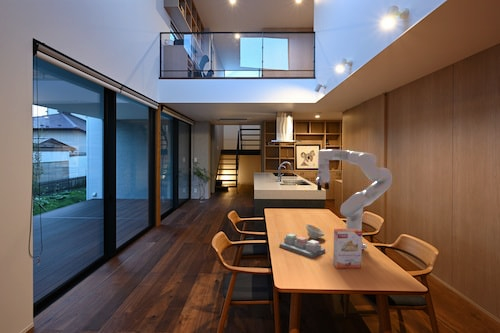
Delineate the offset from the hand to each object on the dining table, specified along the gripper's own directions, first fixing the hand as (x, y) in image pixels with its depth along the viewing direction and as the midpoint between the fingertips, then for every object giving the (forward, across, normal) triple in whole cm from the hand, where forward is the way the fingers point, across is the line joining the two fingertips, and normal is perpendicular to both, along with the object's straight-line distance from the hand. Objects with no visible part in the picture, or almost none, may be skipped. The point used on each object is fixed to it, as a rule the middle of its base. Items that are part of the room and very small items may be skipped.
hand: (323, 189), depth 189 cm
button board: (+37, -29, -3) cm, 47 cm away
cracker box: (+37, -31, -36) cm, 60 cm away
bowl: (+37, -4, +4) cm, 37 cm away
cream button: (+32, -29, -12) cm, 45 cm away
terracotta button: (+32, -29, -3) cm, 43 cm away
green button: (+32, -29, +6) cm, 44 cm away
